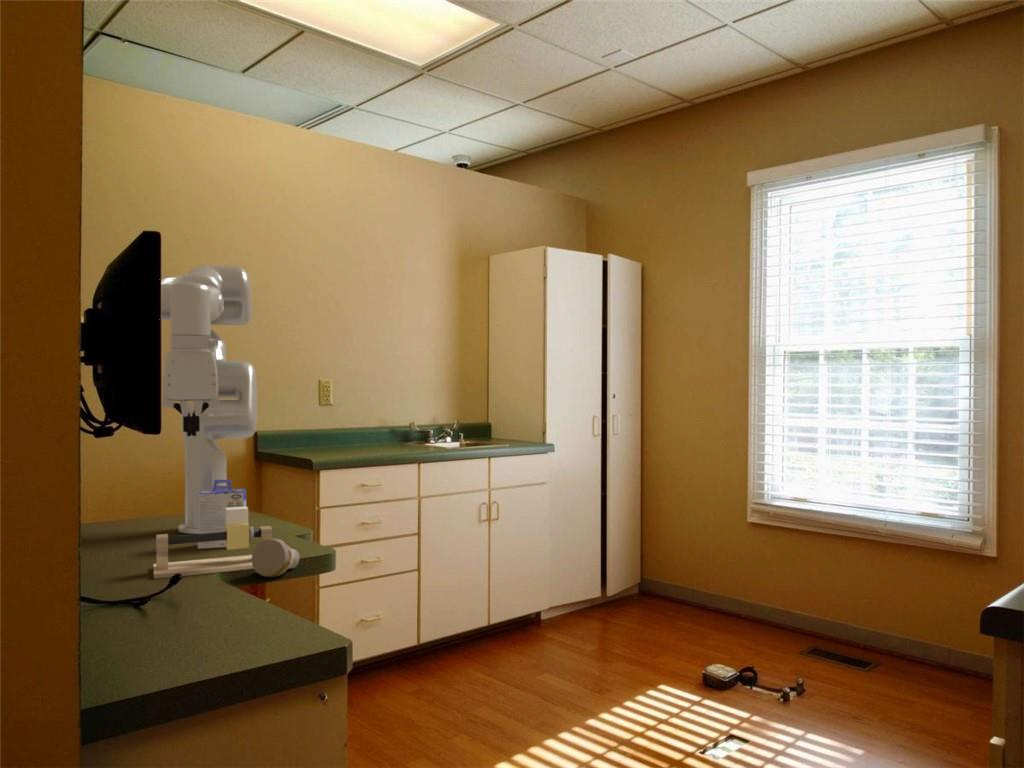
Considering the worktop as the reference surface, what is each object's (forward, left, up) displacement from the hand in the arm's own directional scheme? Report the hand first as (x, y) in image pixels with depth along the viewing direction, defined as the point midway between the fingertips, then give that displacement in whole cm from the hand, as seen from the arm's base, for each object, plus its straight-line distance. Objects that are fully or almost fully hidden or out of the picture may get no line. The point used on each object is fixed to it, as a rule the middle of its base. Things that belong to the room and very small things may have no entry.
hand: (191, 435), depth 155 cm
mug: (+17, +14, -26) cm, 34 cm away
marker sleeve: (+7, +8, -22) cm, 24 cm away
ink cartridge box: (-13, +7, -26) cm, 30 cm away
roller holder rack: (+7, +4, -26) cm, 27 cm away
